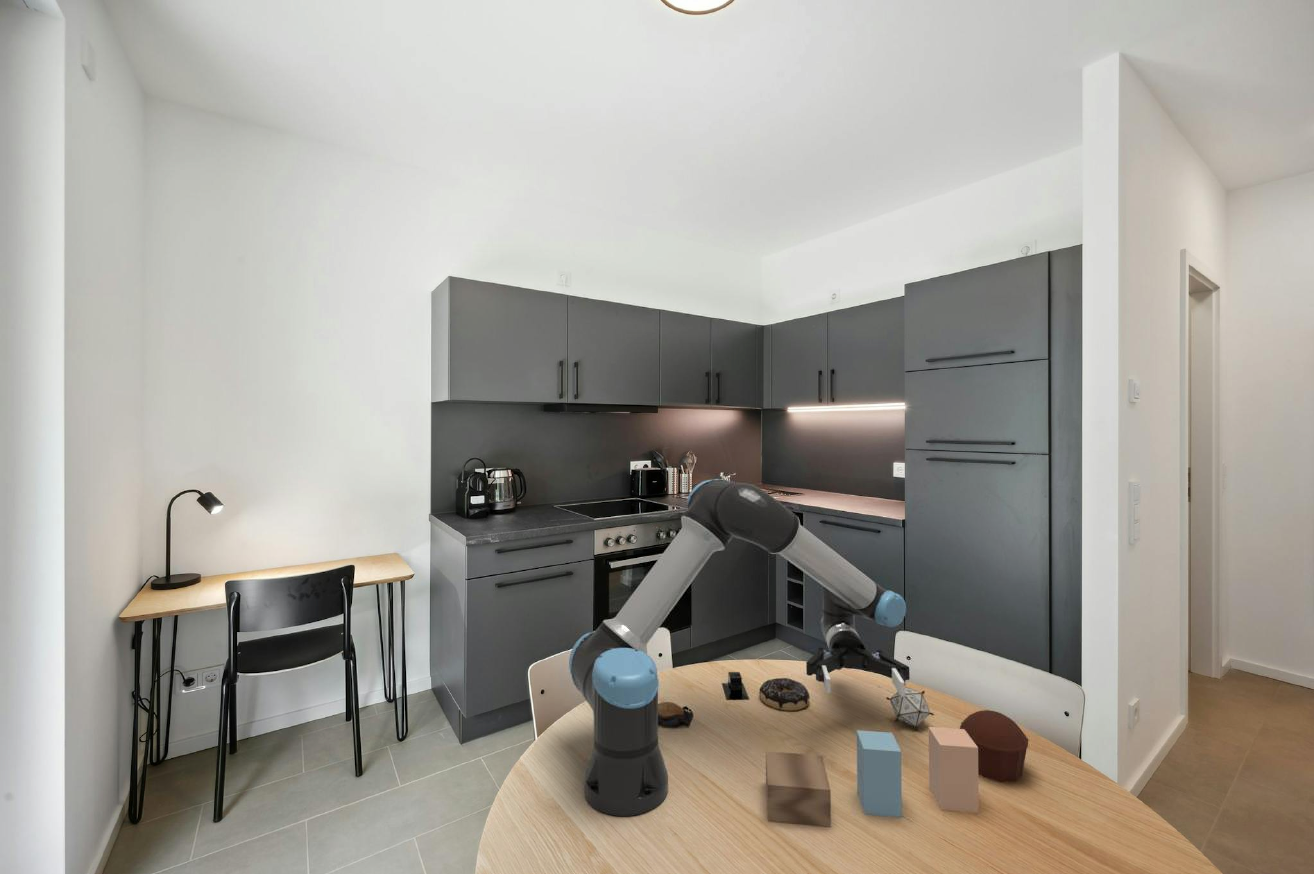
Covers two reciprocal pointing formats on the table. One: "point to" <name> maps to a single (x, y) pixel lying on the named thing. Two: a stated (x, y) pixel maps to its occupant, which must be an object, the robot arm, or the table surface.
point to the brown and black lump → (673, 715)
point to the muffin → (997, 745)
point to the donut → (784, 694)
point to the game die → (910, 707)
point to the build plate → (735, 687)
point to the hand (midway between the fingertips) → (865, 688)
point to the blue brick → (879, 774)
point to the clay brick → (953, 769)
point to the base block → (797, 789)
